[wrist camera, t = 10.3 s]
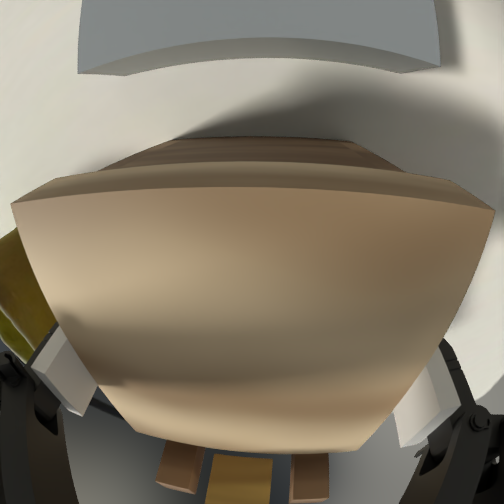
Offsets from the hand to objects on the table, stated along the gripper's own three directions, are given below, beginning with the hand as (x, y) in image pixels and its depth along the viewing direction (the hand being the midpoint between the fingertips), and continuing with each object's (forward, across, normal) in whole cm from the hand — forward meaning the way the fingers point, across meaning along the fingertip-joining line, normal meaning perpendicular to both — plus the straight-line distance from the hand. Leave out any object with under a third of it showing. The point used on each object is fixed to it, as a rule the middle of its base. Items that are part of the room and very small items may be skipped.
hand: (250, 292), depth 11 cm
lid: (-3, 0, 0) cm, 3 cm away
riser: (+4, 0, +14) cm, 15 cm away
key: (-5, 0, -12) cm, 13 cm away
